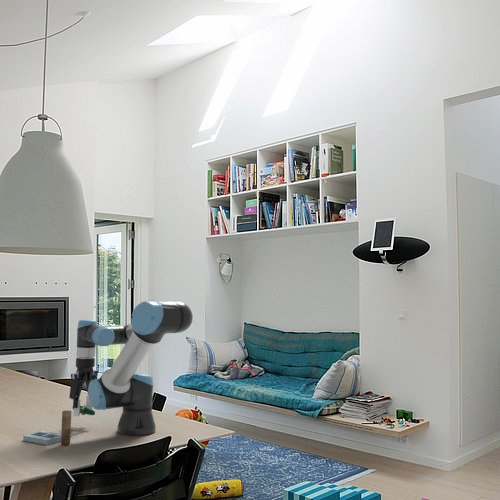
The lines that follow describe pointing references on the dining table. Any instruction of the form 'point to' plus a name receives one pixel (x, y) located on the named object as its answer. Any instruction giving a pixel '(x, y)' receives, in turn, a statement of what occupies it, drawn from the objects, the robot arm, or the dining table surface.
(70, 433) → the card
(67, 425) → the peg
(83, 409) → the gaming controller
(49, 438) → the socket board
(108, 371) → the robot arm
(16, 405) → the dining table surface
